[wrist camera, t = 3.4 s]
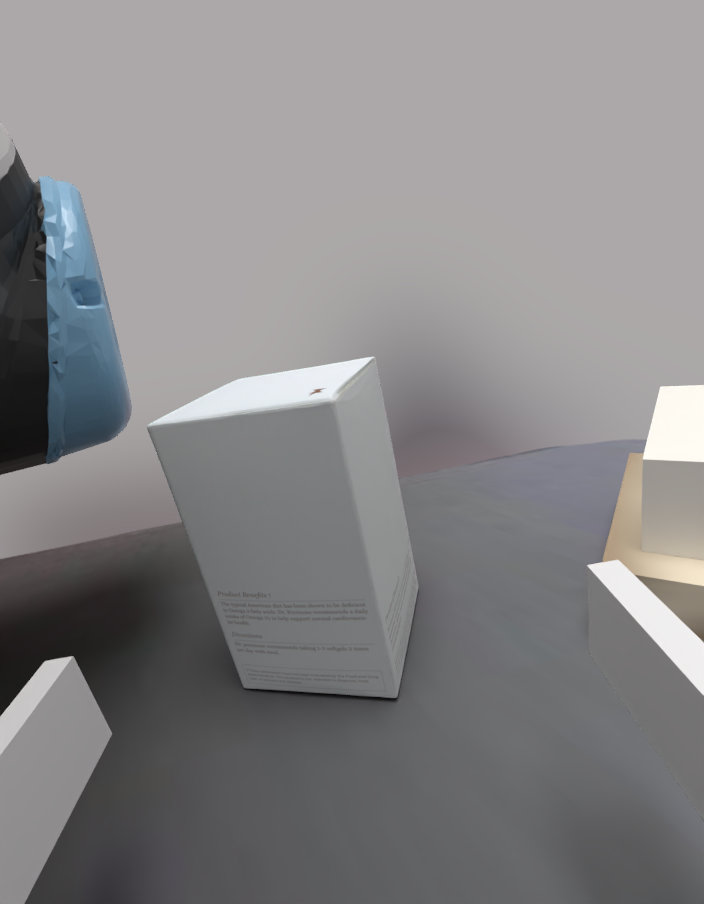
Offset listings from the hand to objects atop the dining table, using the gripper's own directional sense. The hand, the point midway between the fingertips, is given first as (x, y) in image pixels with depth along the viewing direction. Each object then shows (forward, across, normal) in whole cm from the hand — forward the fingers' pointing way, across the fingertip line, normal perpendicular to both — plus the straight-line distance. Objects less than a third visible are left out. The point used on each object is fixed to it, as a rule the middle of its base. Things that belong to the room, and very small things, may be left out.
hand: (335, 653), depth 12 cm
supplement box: (+9, -1, -7) cm, 12 cm away
